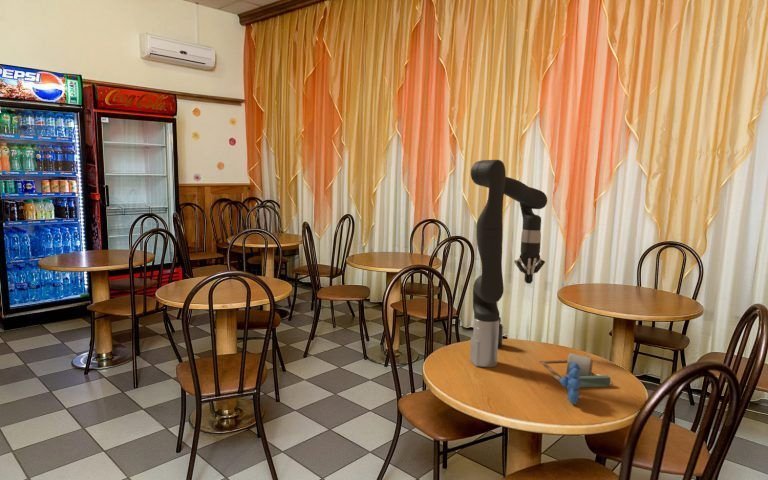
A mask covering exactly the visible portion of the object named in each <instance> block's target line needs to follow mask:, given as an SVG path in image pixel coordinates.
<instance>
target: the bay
mask: <svg viewBox="0 0 768 480" xmlns="http://www.w3.org/2000/svg"><path fill="white" fill-rule="evenodd" d="M567 362H568V359H566V360H565V359H564V360H563V359H562V360H539V363H540V364H541V365H542V366H543V367H545V368H546V369H547V370H548V371H549V372H550V373H551V374H553V379H555V380H556V381H557V382H558V383H560V381H559V380H560V379H561V378H562V377H563V376H561V375H560V374H559V373H558V372H556V371H555V370H554V369H553V368H551V366H549V365H548V364H559V363H560V364H561V363H562V364H563V363H567ZM579 380H580V381H581V383H582V385H581V386H580V387H579V388H596V387H597V388H599V387H611V386H612V385H613V383H612V382H611V376H609V375H608V374H607V375H602V374H599V373H597V374H595V373H594V372H593V371H592V373H591V376H579Z"/></svg>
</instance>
